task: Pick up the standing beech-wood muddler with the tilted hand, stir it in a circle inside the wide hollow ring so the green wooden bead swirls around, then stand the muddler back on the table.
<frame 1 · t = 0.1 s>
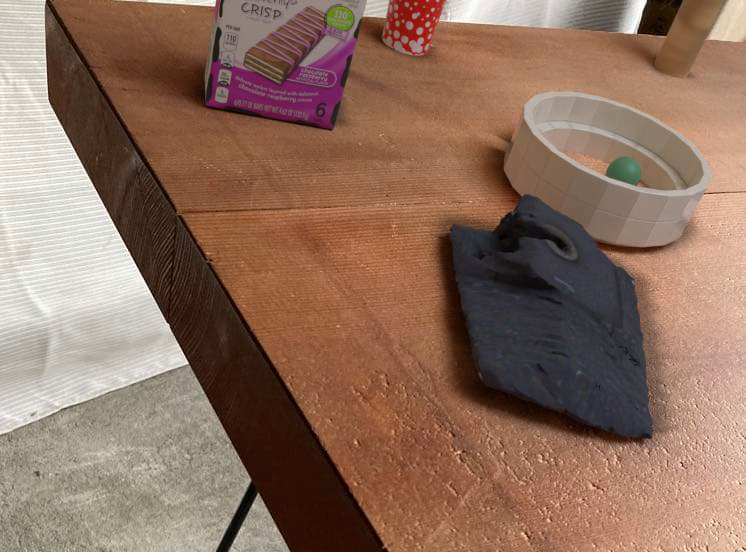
muddler: (666, 78, 111), on the table
beverage cup: (401, 56, 97), on the table
bead: (623, 175, 85), point 2 cm above the table, touching wide hollow ring
candy bar box: (269, 110, 83), on the table
dark slate chunk: (541, 332, 70), on the table
wide hollow ring: (590, 199, 86), on the table
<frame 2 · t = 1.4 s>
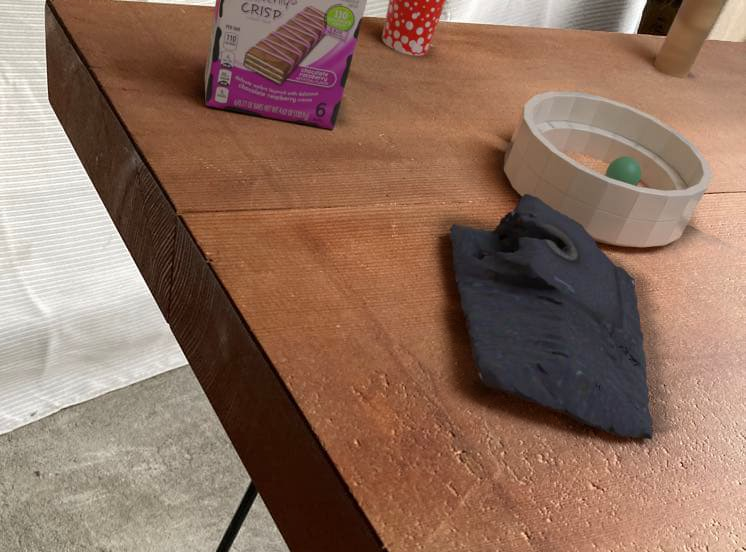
nothing on the table moved.
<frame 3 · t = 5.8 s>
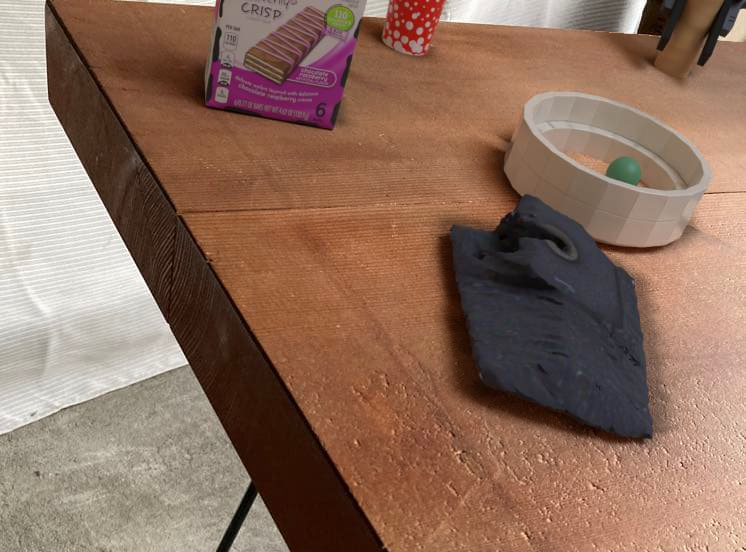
hand: (683, 51, 105), 4 cm above the table, tool tilted 45°, fingers closed on muddler, 4 cm apart
muddler: (666, 78, 111), on the table, touching gripper
everything else where it was.
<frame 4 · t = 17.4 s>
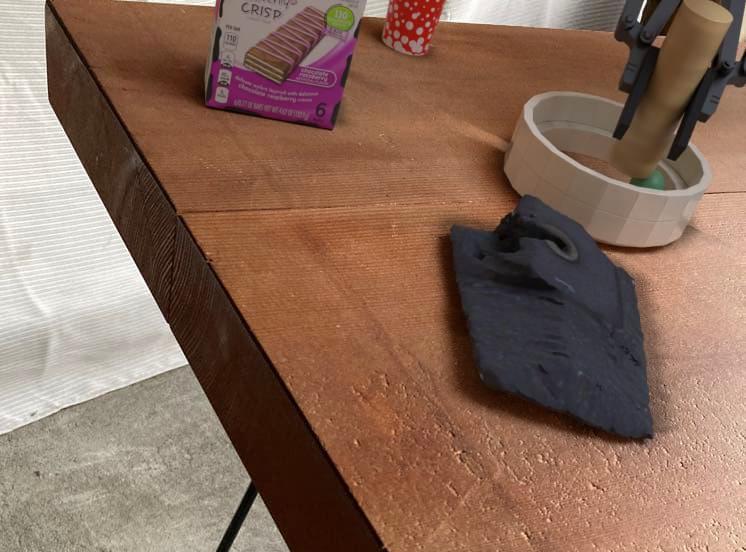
hand: (648, 142, 78), 8 cm above the table, tool tilted 45°, fingers closed on muddler, 4 cm apart
muddler: (630, 165, 84), point 4 cm above the table, touching bead, gripper
bead: (646, 186, 85), point 2 cm above the table, tilted 81°, touching wide hollow ring, muddler
everything else where it was.
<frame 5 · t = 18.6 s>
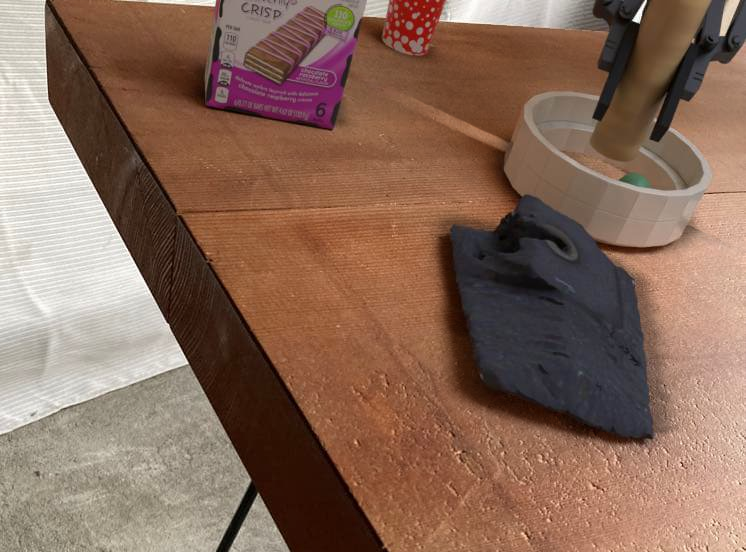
hand: (629, 122, 74), 10 cm above the table, tool tilted 45°, fingers closed on muddler, 4 cm apart
muddler: (612, 148, 80), point 6 cm above the table, touching gripper
bead: (632, 191, 84), point 2 cm above the table, tilted 53°, touching wide hollow ring
everything else where it was.
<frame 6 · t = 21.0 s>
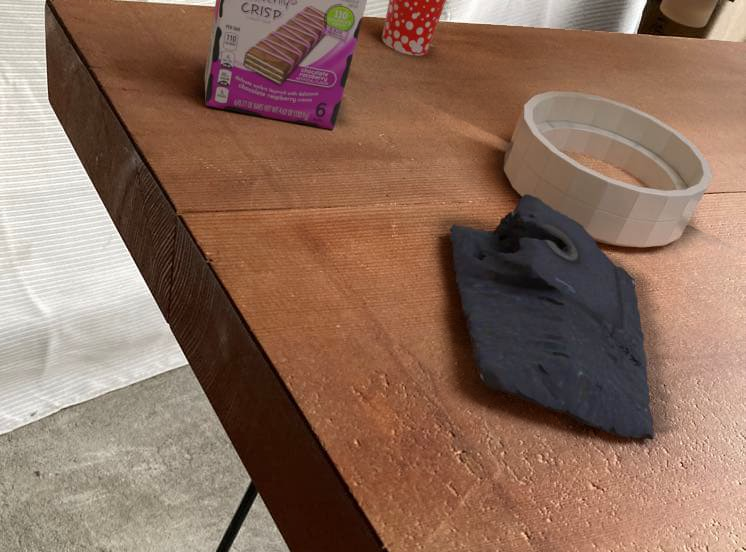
muddler: (682, 15, 80), point 14 cm above the table, touching gripper
bead: (598, 200, 81), point 2 cm above the table, tilted 126°, touching wide hollow ring
everything else where it was.
when the fingers open (4 cm above the table, at t = 29.1 s): muddler stays where it is, on the table.
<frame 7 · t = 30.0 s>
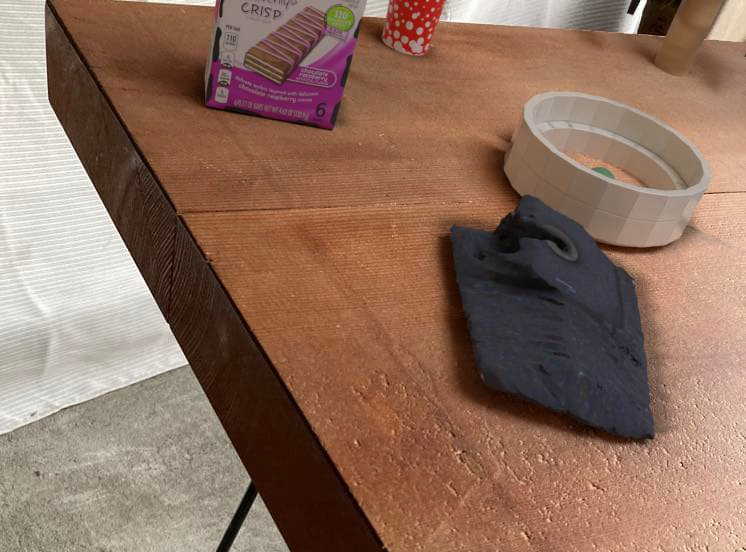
hand: (692, 30, 105), 6 cm above the table, tool tilted 45°, fingers open, 13 cm apart
muddler: (666, 76, 111), on the table
bead: (597, 186, 83), point 2 cm above the table, tilted 57°, touching wide hollow ring
everything else where it was.
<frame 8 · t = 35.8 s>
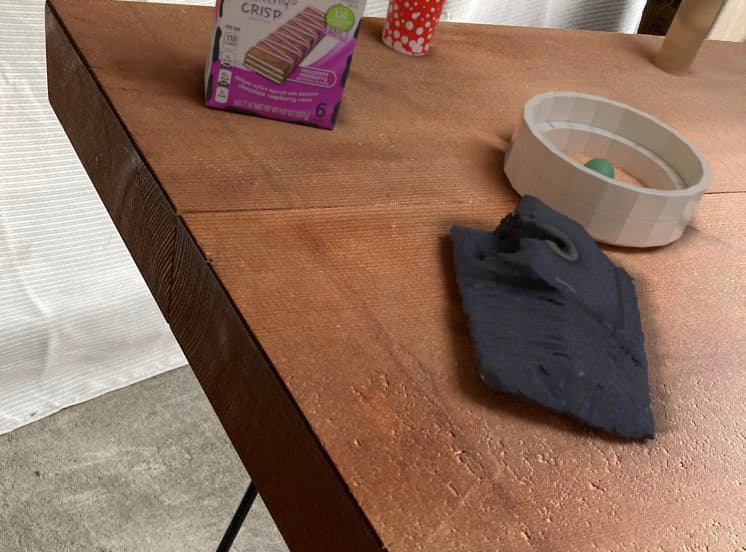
bead: (596, 177, 84), point 2 cm above the table, tilted 46°, touching wide hollow ring
everything else where it was.
at the end: bead moved 3.3 cm from its start; bead inside the target area in the wide hollow ring (0.8 cm from its centre), point 2.3 cm above the wide hollow ring's base; muddler tilted 0° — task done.
